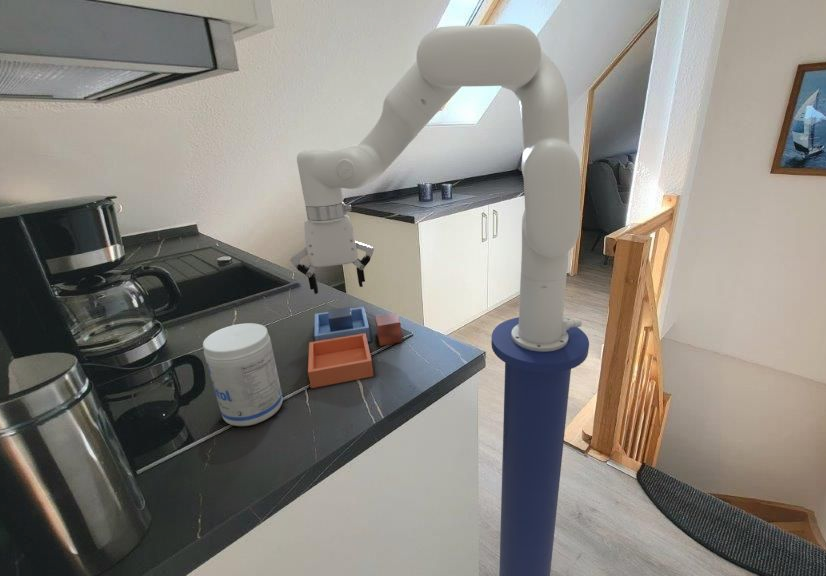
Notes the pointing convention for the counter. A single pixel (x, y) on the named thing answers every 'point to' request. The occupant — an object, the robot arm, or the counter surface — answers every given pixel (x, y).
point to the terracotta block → (388, 329)
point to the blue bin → (324, 330)
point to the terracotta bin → (339, 360)
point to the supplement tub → (243, 373)
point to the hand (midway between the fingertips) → (338, 288)
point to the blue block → (340, 319)
